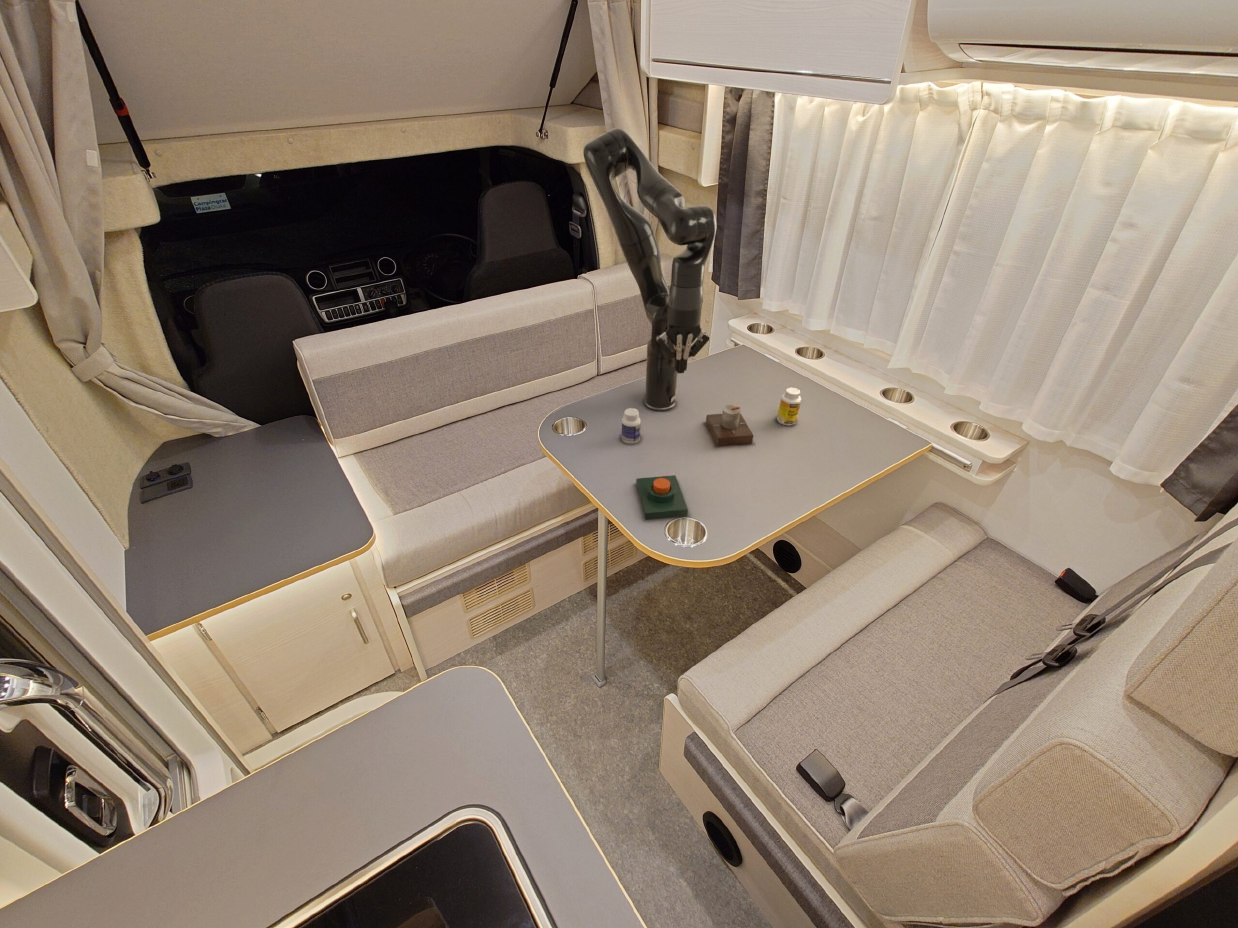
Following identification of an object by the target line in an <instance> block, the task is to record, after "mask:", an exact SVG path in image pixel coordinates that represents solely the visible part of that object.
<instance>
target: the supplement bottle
mask: <svg viewBox="0 0 1238 928" xmlns="http://www.w3.org/2000/svg"><path fill="white" fill-rule="evenodd" d="M801 404H802V397H801V391H800V389H798V388H796V387H788V388H786V390H785V392H784V393H783V394H782V395H781V398H780V402H779V407H778V412H777V416H776V420H777V422H778V423H779V424H781V425H784V426H793V425H795V424H796V423H797V419H798V415H799V411H800V408H801Z"/></svg>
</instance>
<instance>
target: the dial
mask: <svg viewBox="0 0 1238 928" xmlns="http://www.w3.org/2000/svg"><path fill="white" fill-rule="evenodd" d="M721 412H722V413H721V414H722V420H721V425H722V426H723V427H724V428H727V429H735V428H737V427H738V423H739V417H740V414H741V408H740V406H737V405H734V404H726V405H724V406H723V407H722V411H721Z"/></svg>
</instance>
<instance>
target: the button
mask: <svg viewBox="0 0 1238 928" xmlns="http://www.w3.org/2000/svg"><path fill="white" fill-rule="evenodd" d="M653 490H654V491H655V492H656V493H659V494H666V493H668V492H669V491H670V482H669V480H667V479H665V478H658V479H656V480H655V481H654V483H653Z"/></svg>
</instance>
